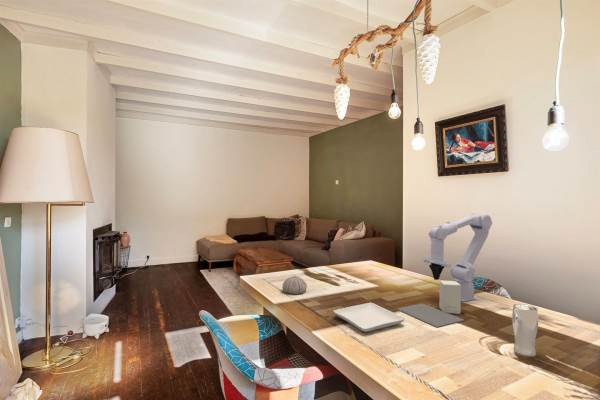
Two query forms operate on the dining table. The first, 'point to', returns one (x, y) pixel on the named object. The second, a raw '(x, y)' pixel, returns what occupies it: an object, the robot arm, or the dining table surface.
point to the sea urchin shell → (294, 285)
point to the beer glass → (525, 329)
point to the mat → (430, 315)
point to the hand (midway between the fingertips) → (436, 279)
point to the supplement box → (450, 297)
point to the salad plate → (368, 316)
